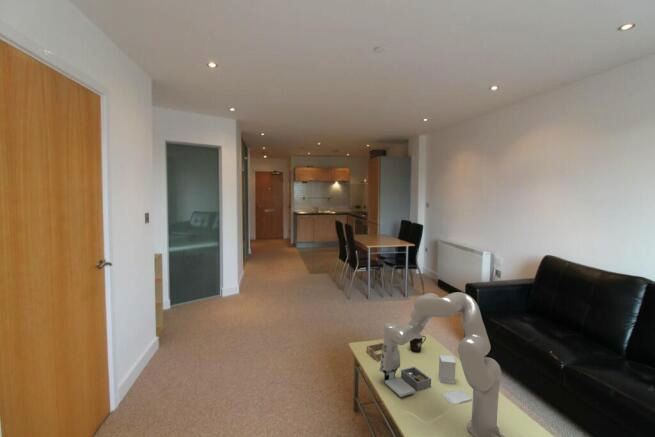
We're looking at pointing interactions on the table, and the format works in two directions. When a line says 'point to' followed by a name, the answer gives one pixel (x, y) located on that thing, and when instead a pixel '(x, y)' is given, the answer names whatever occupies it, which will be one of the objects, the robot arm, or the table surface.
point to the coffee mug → (416, 343)
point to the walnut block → (419, 378)
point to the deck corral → (372, 349)
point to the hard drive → (456, 397)
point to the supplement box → (447, 369)
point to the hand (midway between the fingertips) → (389, 380)
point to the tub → (413, 382)
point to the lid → (399, 385)
